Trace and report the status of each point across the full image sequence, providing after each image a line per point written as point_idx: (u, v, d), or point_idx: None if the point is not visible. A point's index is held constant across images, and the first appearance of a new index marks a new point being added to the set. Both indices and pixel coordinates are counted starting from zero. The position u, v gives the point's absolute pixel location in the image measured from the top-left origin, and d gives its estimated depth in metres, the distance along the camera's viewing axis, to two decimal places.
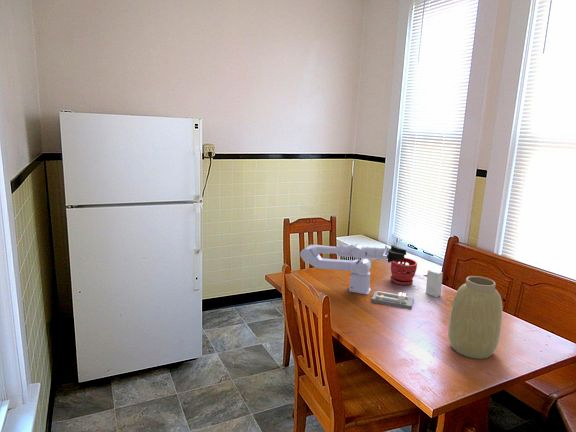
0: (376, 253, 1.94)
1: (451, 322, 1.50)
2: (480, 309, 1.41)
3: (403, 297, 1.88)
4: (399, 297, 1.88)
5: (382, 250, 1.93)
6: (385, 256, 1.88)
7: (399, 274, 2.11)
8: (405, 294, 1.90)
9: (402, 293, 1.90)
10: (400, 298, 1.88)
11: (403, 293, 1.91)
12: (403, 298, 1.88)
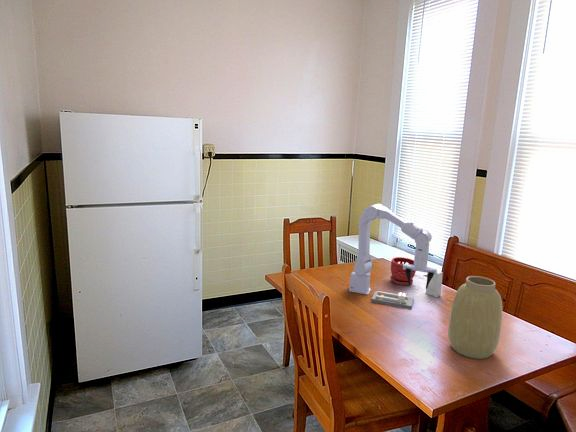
0: (414, 258, 1.84)
1: (451, 322, 1.50)
2: (480, 309, 1.41)
3: (403, 297, 1.88)
4: (399, 297, 1.88)
5: (415, 265, 1.83)
6: (403, 267, 1.87)
7: (399, 274, 2.11)
8: (405, 294, 1.90)
9: (402, 293, 1.90)
10: (400, 298, 1.88)
11: (403, 293, 1.91)
12: (403, 298, 1.88)
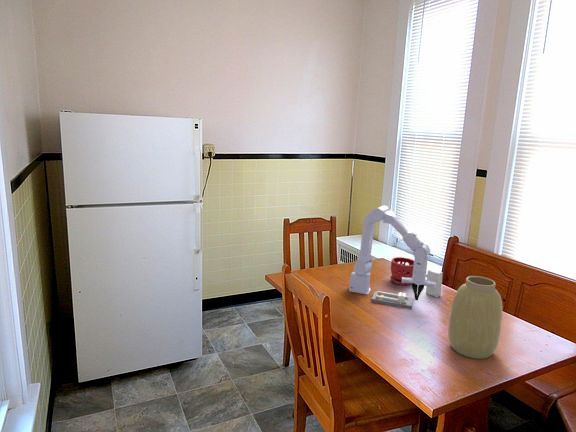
0: None
1: (451, 322, 1.50)
2: (480, 309, 1.41)
3: (403, 297, 1.88)
4: (399, 297, 1.88)
5: (413, 278, 1.84)
6: None
7: (399, 274, 2.11)
8: (405, 294, 1.90)
9: (402, 293, 1.90)
10: (400, 298, 1.88)
11: (403, 293, 1.91)
12: (403, 298, 1.88)
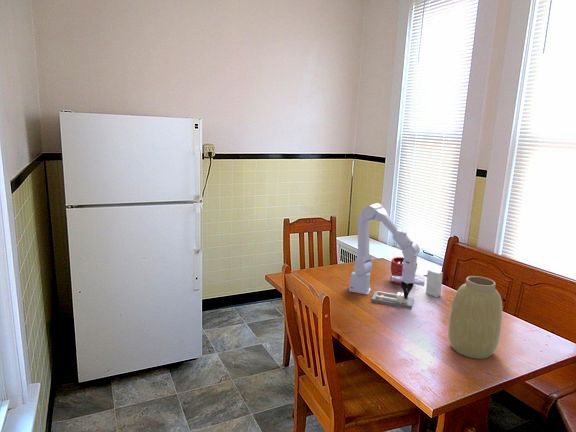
0: (402, 270, 1.87)
1: (451, 322, 1.50)
2: (480, 309, 1.41)
3: (401, 297, 1.88)
4: (398, 297, 1.89)
5: (403, 277, 1.86)
6: None
7: (399, 274, 2.11)
8: None
9: (401, 293, 1.90)
10: (399, 298, 1.88)
11: (402, 293, 1.91)
12: (401, 298, 1.88)
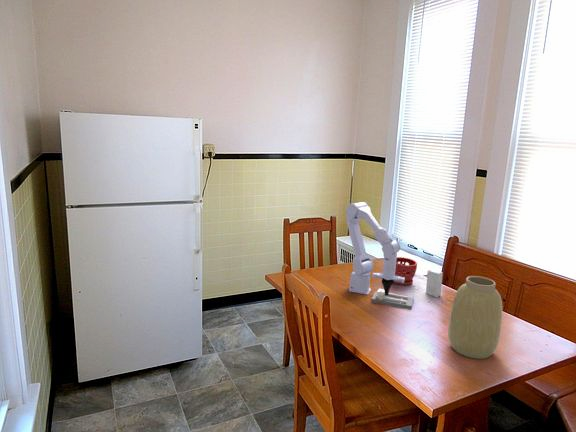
0: None
1: (451, 322, 1.50)
2: (480, 309, 1.41)
3: (382, 293, 1.91)
4: (378, 293, 1.92)
5: (383, 274, 1.89)
6: None
7: (399, 274, 2.11)
8: (384, 290, 1.93)
9: (381, 289, 1.94)
10: (379, 294, 1.92)
11: (382, 289, 1.94)
12: (382, 294, 1.91)
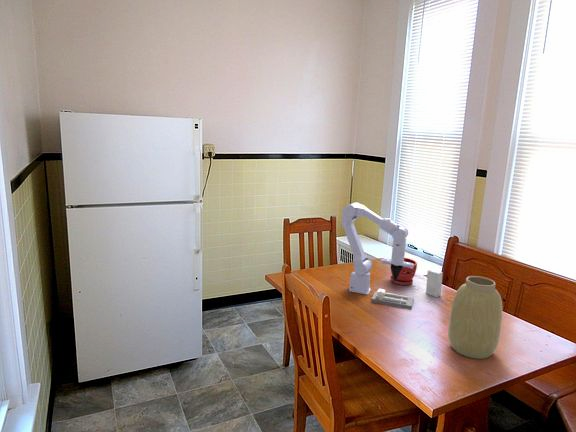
0: (392, 253, 1.91)
1: (451, 322, 1.50)
2: (480, 309, 1.41)
3: (382, 293, 1.91)
4: (378, 293, 1.92)
5: (392, 259, 1.90)
6: None
7: (399, 274, 2.11)
8: (384, 290, 1.93)
9: (381, 289, 1.94)
10: (379, 294, 1.92)
11: (382, 289, 1.94)
12: (382, 294, 1.91)
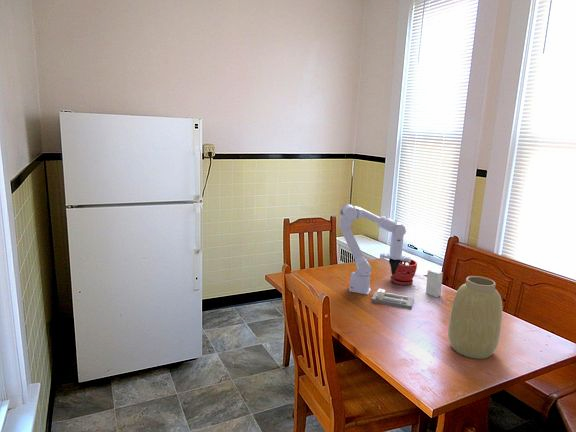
0: (390, 248, 1.99)
1: (451, 322, 1.50)
2: (480, 309, 1.41)
3: (382, 293, 1.91)
4: (378, 293, 1.92)
5: (390, 254, 1.98)
6: (380, 256, 2.02)
7: (399, 274, 2.11)
8: (384, 290, 1.93)
9: (381, 289, 1.94)
10: (379, 294, 1.92)
11: (382, 289, 1.94)
12: (382, 294, 1.91)
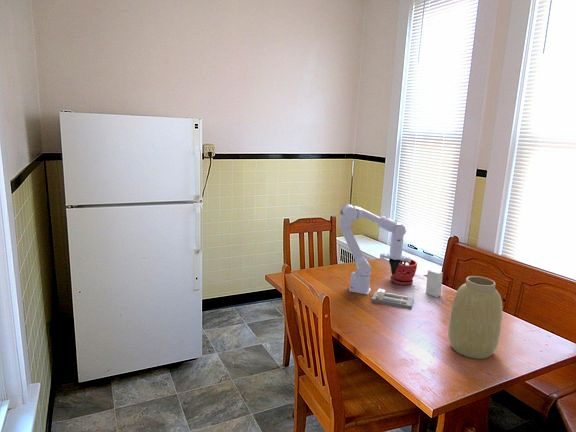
0: (390, 248, 1.99)
1: (451, 322, 1.50)
2: (480, 309, 1.41)
3: (382, 293, 1.91)
4: (378, 293, 1.92)
5: (390, 254, 1.98)
6: (380, 256, 2.02)
7: (399, 274, 2.11)
8: (384, 290, 1.93)
9: (381, 289, 1.94)
10: (379, 294, 1.92)
11: (382, 289, 1.94)
12: (382, 294, 1.91)
